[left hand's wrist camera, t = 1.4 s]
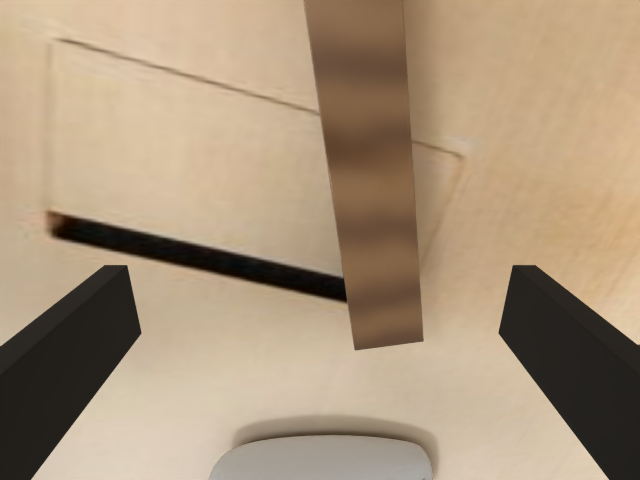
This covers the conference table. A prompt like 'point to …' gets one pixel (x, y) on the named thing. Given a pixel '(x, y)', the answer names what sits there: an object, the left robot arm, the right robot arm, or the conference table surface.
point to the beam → (369, 162)
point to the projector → (325, 459)
